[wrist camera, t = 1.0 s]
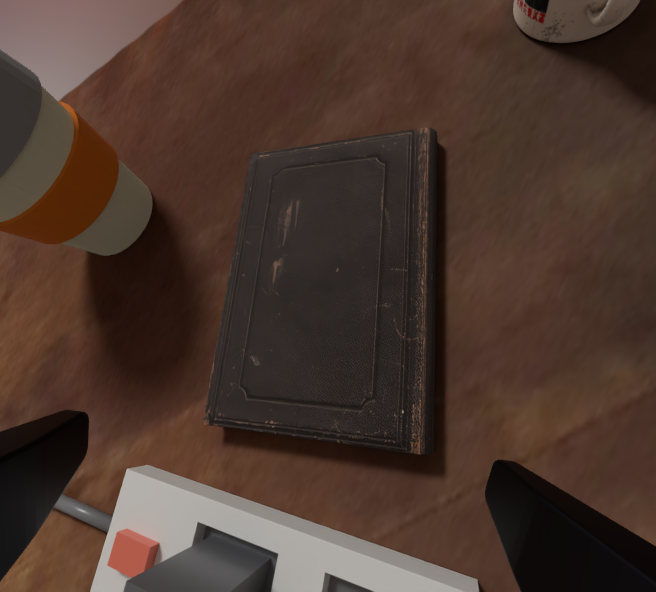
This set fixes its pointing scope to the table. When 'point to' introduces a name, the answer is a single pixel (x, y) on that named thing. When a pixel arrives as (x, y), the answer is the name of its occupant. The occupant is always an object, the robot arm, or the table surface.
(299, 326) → the hardcover book
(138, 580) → the block
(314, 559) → the power strip
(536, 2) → the teacup with lid
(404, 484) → the table surface
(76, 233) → the reusable coffee cup
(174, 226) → the table surface
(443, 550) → the table surface
